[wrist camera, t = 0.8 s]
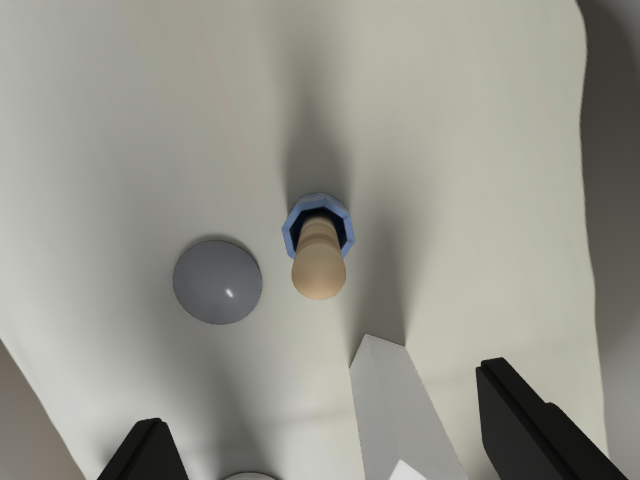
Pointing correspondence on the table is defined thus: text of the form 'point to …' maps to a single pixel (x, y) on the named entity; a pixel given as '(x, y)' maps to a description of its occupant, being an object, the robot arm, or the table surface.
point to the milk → (398, 418)
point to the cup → (323, 202)
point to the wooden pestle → (318, 258)
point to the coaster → (217, 282)
